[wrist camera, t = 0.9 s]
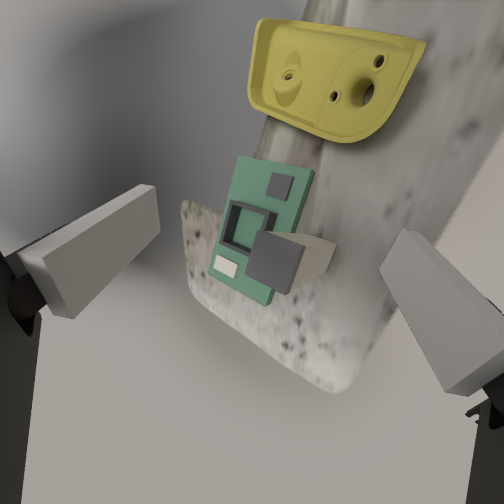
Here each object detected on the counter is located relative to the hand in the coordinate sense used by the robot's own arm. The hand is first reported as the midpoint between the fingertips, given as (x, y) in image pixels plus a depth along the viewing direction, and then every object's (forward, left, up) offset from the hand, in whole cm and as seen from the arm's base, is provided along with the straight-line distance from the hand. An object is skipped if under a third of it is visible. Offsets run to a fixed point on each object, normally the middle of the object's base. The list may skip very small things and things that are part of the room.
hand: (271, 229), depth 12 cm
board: (+3, -12, -19) cm, 23 cm away
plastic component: (-17, -8, -20) cm, 27 cm away
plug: (+3, -2, -19) cm, 20 cm away
